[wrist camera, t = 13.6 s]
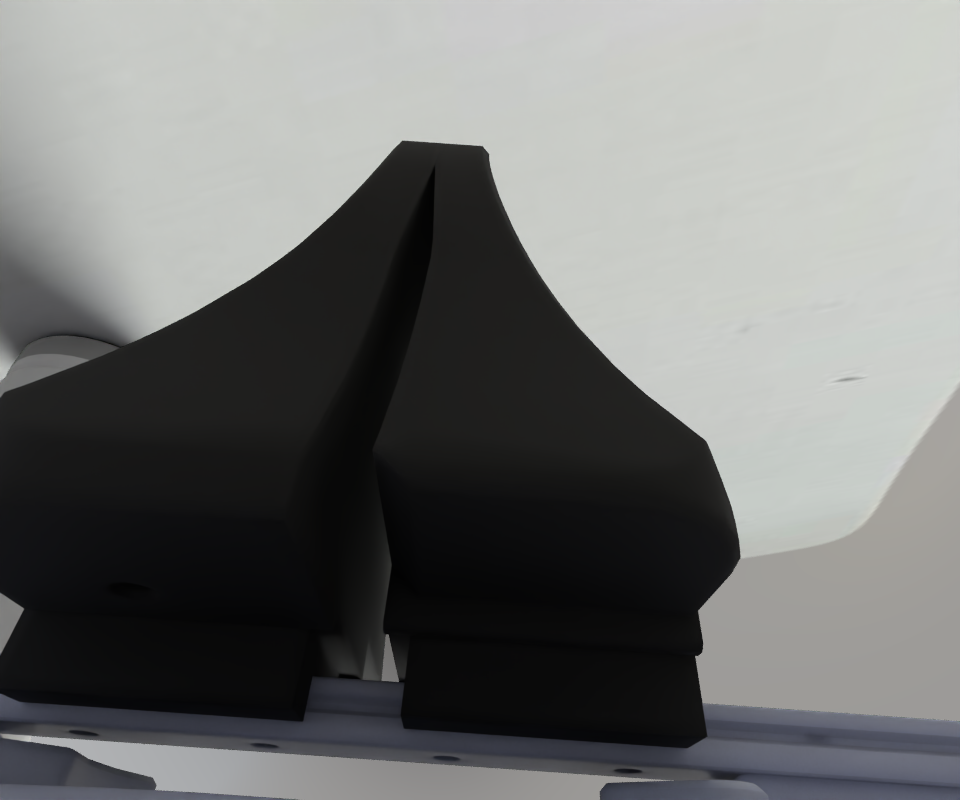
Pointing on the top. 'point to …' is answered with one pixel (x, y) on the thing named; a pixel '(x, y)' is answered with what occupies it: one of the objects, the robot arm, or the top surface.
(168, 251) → the top surface
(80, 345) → the travel mug
